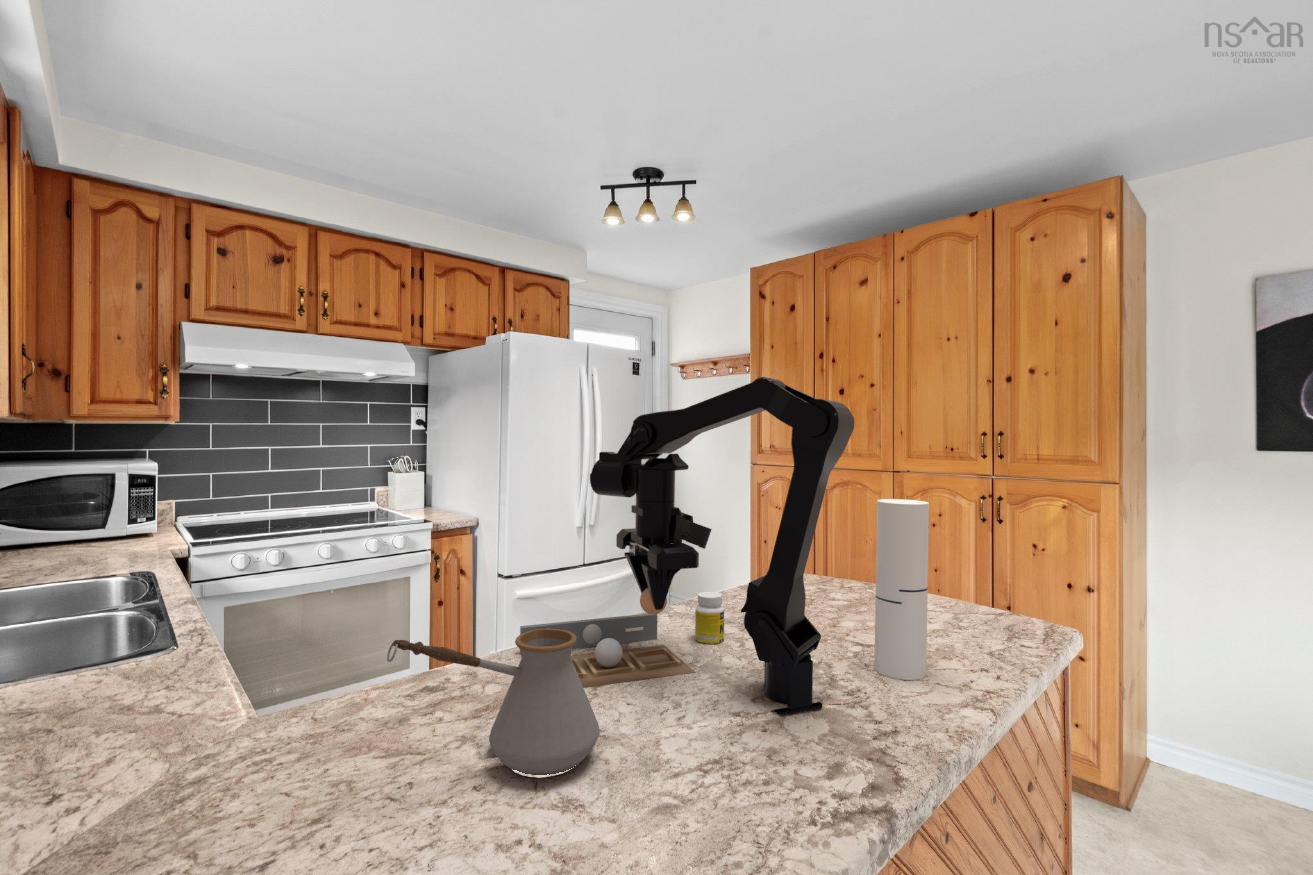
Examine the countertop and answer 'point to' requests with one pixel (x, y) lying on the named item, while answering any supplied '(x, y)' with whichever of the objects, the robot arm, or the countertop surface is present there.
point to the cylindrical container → (901, 588)
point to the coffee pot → (534, 703)
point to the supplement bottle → (709, 619)
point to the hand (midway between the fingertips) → (653, 605)
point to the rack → (630, 666)
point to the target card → (605, 629)
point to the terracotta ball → (649, 603)
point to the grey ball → (608, 652)
